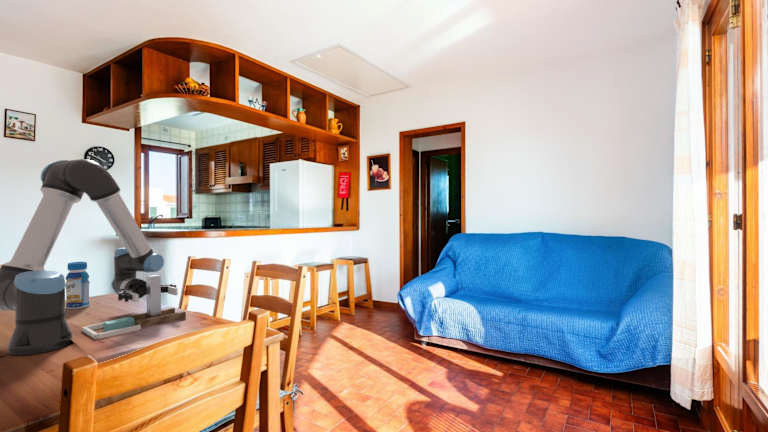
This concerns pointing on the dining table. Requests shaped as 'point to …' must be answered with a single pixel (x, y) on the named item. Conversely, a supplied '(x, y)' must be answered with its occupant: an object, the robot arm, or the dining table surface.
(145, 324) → the channel
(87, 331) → the tray
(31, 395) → the dining table surface
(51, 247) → the robot arm
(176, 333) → the dining table surface
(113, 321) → the teal cube
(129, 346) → the dining table surface
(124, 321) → the teal block
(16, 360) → the dining table surface
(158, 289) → the brushed metal bar
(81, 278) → the blue pill bottle
